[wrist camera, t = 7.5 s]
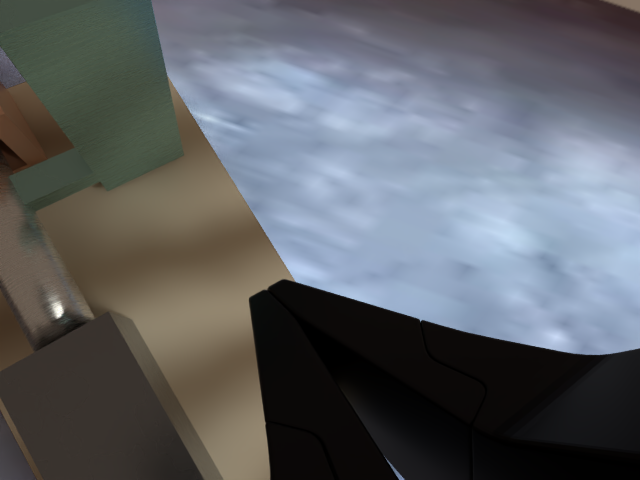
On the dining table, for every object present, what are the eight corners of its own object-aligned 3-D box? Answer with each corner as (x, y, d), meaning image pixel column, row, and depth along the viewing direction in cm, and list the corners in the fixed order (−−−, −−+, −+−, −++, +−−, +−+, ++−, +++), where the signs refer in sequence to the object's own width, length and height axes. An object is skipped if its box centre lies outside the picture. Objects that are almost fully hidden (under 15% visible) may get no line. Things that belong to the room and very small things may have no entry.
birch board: (366, 401, 22) (370, 403, 22) (108, 595, 18) (102, 605, 18) (146, 47, 25) (143, 37, 24) (-127, 151, 21) (-140, 143, 20)
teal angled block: (267, 290, 22) (305, 232, 11) (81, 403, 19) (-99, 467, 8) (135, 75, 23) (58, -158, 12) (-57, 152, 20) (-361, -63, 10)
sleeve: (225, 483, 20) (225, 517, 16) (135, 549, 18) (109, 605, 14) (132, 319, 20) (108, 311, 16) (39, 372, 19) (-11, 377, 15)
